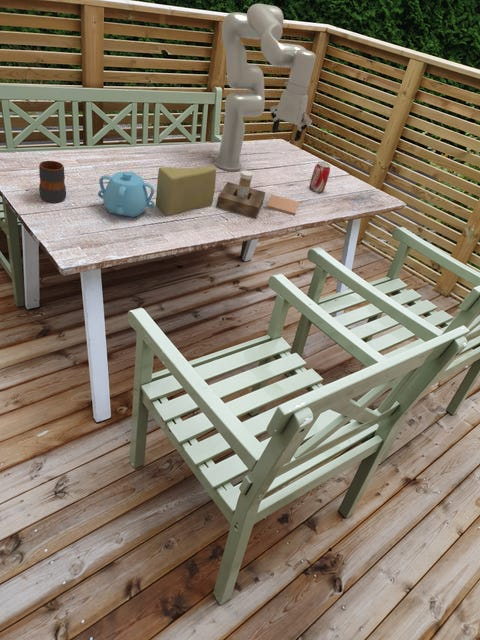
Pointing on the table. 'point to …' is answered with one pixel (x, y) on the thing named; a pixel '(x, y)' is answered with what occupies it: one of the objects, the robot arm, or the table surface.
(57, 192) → the mug
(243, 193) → the sprinkles bottle
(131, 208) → the decorative pot
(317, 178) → the soda can
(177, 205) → the cheese
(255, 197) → the frame
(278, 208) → the terracotta tile
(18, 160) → the table surface
